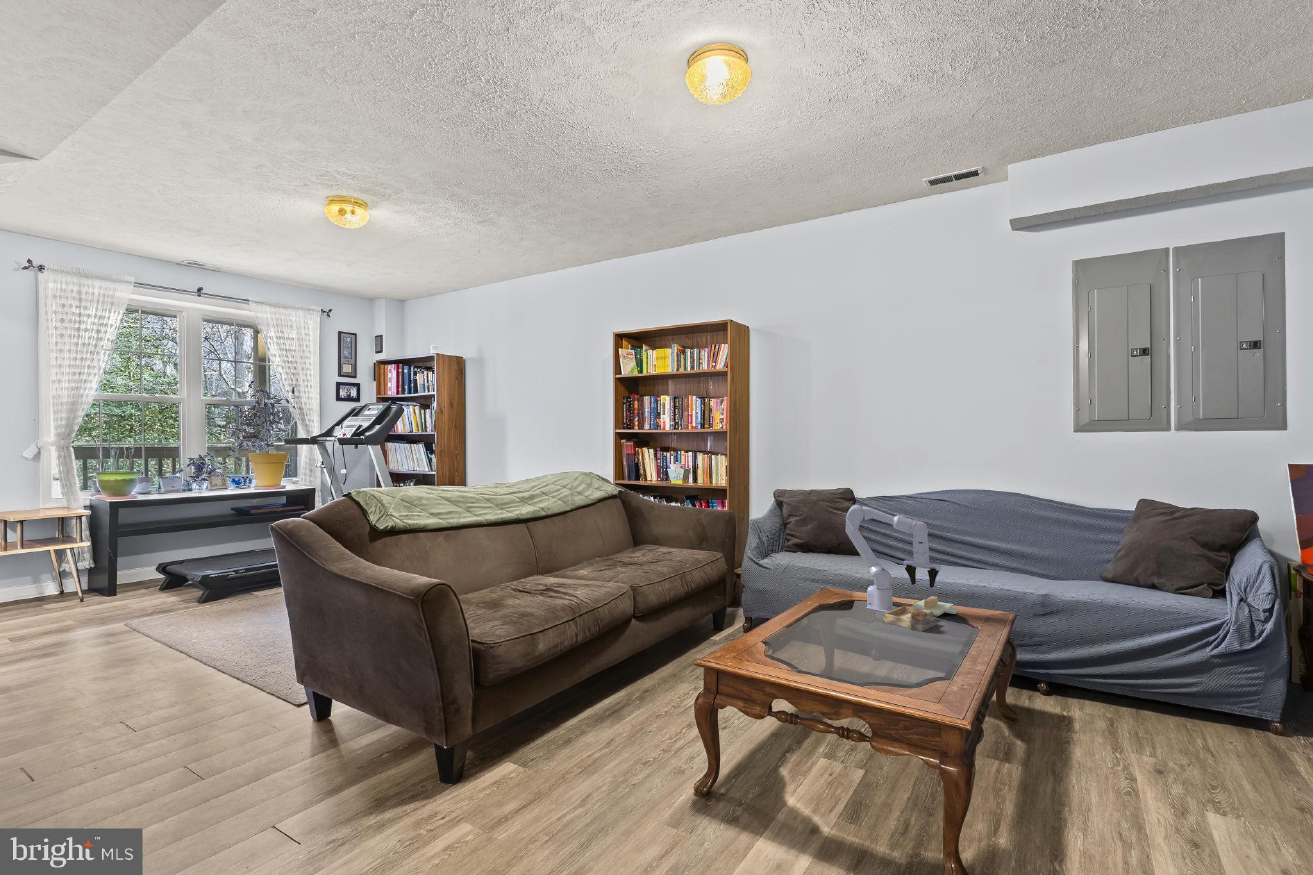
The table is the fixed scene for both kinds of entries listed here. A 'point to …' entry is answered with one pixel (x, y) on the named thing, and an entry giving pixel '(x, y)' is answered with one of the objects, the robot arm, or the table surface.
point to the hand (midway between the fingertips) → (922, 585)
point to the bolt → (919, 615)
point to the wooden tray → (909, 618)
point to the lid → (935, 606)
